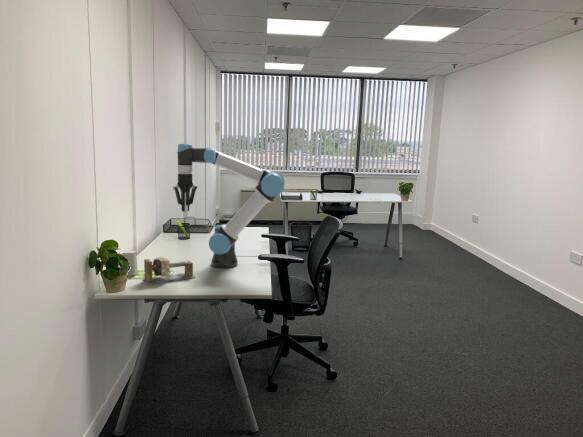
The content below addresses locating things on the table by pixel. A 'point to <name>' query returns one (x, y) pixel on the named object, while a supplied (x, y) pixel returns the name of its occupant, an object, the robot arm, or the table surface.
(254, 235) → the table surface
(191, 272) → the pipe stand
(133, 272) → the skincare box
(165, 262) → the sleeve
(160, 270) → the o-ring
